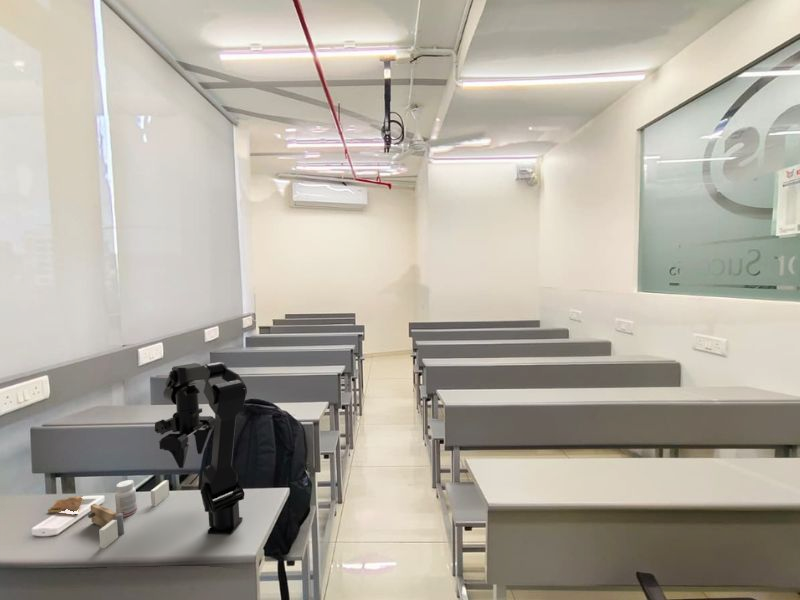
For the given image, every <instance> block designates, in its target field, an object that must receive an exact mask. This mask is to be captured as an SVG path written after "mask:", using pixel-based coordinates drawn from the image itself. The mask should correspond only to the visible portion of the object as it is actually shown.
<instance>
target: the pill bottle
mask: <svg viewBox="0 0 800 600" xmlns="http://www.w3.org/2000/svg"><path fill="white" fill-rule="evenodd" d="M134 483H135V482H134V480H133V479H130V480H129V479H128V480H122V481H120V482H119V483H117V484H116V492H115V495H114V498H115V512H117V514H118V513H123V518H126V517H128V516H131V515H134V513H136V512H137V509H138V505H137V504H138V503H137V493H136V492H137V491H136V487H134V486H135V484H134Z"/></svg>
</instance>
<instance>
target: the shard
mask: <svg viewBox="0 0 800 600" xmlns="http://www.w3.org/2000/svg"><path fill="white" fill-rule="evenodd" d="M81 497H84V496H83V495H82V496H71V497H70V496H69V497H67V498H63V499H58V500H56V501H55V502H54V503H53V505H52V506H51V507H50V508H49V509H48V510H47V512H48V513H49V514H50V513H51V514H55V513H58V512H61V511H65V510H66V509H68V510H70V511H73V512H74V511H77V510H78V509H79V510H80V508H81V506H80V505H82V503H83V500H84V499H83V498H81ZM58 514H59V513H58Z"/></svg>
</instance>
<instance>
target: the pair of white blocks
mask: <svg viewBox="0 0 800 600" xmlns="http://www.w3.org/2000/svg"><path fill="white" fill-rule="evenodd" d="M169 496H170V485H169V479H166V480H165V479H164V480H163V481H162V482H160V483H159V484H158V485H156V486H155V487H154V488H153V489H151V490H150V500H151V501H150V502H151V503H150V504H151V507H156V506H158V505H159V504H160V503H162V502H163V501H164V500H165V499H166V498H168V497H169ZM98 530H99V531H98V532H99V545H100V547H99V548H100V549H106V548H107V547H108V546H109V545H111V544H112V543H113V542H114V541H115V540H117V539H118V538H119V537H120V536H122V535H124V534H125V526H124V517H123V513H118V514H116V515H115V516H114V520H112V521H110V522H109V523H108V524H106V525H105V526H104V527H102V526H101V528H100V529H98Z"/></svg>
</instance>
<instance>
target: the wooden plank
mask: <svg viewBox="0 0 800 600" xmlns="http://www.w3.org/2000/svg"><path fill="white" fill-rule="evenodd" d="M89 507H90V513H88V515H87V517H88V518H89V519H91V523H93V524H95V525H97V526H99V527H101V528H102V527H104V526H105V525H106V524H108V523H109V522H110V521H112V520H114V516H115V515H116V514H117V512H116V511H114V510H112V509H109V508H106V507H104V506H102V505H99V504H96V503H92V504H90V506H89Z"/></svg>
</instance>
